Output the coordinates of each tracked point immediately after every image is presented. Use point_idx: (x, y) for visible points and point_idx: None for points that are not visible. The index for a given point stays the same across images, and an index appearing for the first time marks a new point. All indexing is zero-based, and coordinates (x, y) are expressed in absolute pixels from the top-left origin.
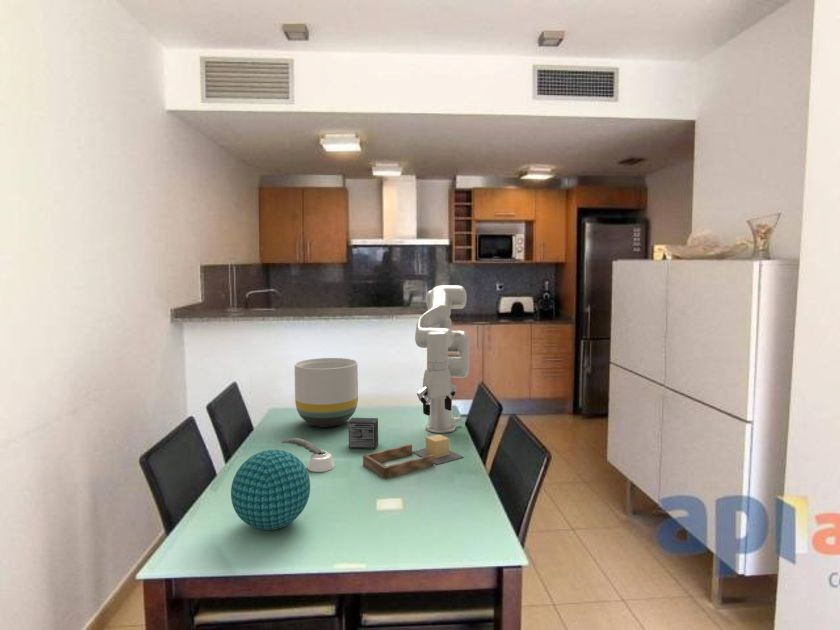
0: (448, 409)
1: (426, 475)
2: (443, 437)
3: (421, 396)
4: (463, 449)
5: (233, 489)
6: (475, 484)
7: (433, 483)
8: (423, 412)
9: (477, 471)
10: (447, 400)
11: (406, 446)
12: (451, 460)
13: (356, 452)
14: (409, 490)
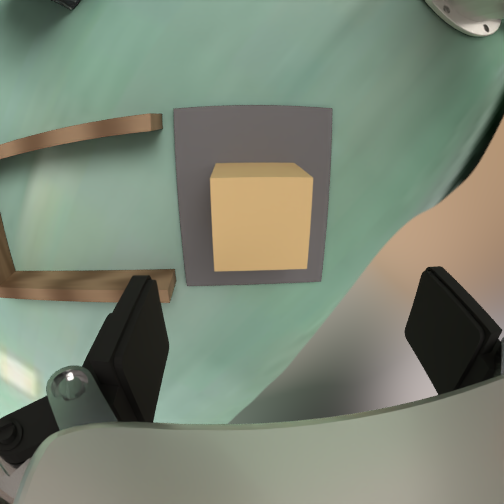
0: (410, 324)
1: None
2: (294, 240)
3: (12, 491)
4: (384, 210)
5: None
6: (208, 415)
7: None
8: (132, 279)
9: (269, 376)
10: (456, 373)
11: (117, 134)
12: (260, 282)
13: (12, 23)
14: (54, 362)
